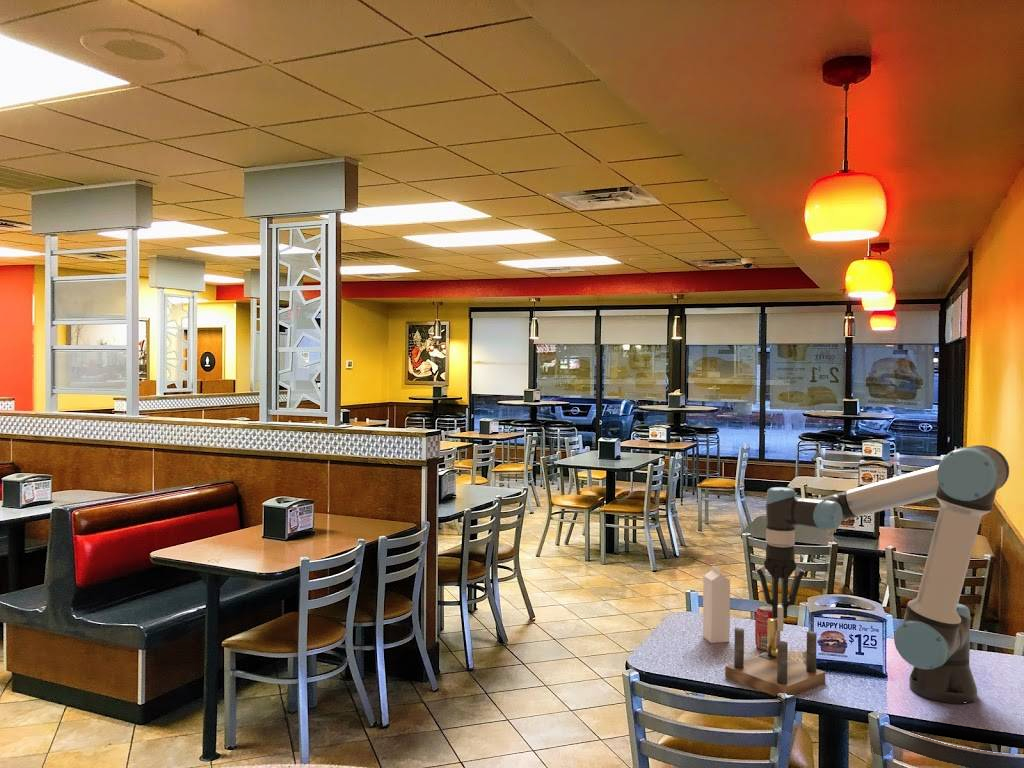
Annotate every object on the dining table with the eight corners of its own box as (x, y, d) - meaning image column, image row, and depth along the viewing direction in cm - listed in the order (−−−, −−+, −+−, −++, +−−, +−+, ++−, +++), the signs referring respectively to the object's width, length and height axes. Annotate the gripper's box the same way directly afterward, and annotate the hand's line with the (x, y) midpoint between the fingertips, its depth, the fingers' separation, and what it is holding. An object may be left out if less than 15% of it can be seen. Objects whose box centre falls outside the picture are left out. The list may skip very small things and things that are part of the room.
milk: (711, 643, 235) (711, 570, 234) (702, 636, 241) (702, 565, 240) (730, 642, 236) (730, 569, 236) (720, 635, 242) (721, 564, 242)
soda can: (776, 644, 234) (777, 604, 234) (782, 652, 227) (783, 611, 227) (752, 643, 235) (753, 603, 234) (757, 651, 228) (758, 610, 227)
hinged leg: (785, 657, 212) (785, 623, 212) (777, 658, 212) (778, 624, 211) (772, 651, 217) (772, 618, 217) (765, 652, 216) (765, 618, 216)
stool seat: (825, 683, 204) (825, 633, 204) (785, 699, 193) (785, 647, 193) (765, 663, 218) (766, 616, 218) (725, 677, 208) (725, 628, 207)
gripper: (801, 542, 218) (800, 626, 218) (753, 540, 220) (752, 624, 220) (808, 547, 210) (807, 635, 211) (758, 546, 212) (757, 632, 212)
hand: (779, 629), depth 215 cm, fingers closed
